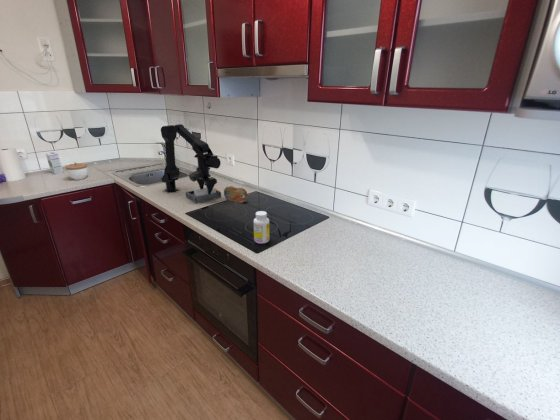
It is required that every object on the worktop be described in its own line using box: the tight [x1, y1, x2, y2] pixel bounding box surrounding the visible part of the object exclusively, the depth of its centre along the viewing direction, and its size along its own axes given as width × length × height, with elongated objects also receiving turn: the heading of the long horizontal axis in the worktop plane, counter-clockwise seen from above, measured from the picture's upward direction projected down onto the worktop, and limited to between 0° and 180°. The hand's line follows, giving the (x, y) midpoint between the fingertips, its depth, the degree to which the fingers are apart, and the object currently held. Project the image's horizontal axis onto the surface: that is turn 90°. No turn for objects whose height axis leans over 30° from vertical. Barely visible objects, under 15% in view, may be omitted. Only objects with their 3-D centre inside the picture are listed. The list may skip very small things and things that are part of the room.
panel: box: [194, 186, 217, 197], centre depth 173 cm, size 4×12×5 cm, turn 130°
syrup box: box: [45, 151, 64, 175], centre depth 215 cm, size 6×6×14 cm
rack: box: [185, 188, 222, 204], centre depth 175 cm, size 13×16×4 cm
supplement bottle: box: [253, 210, 270, 244], centre depth 126 cm, size 7×7×13 cm
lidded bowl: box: [64, 162, 89, 181], centre depth 205 cm, size 13×13×11 cm
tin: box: [223, 185, 249, 204], centre depth 170 cm, size 15×3×8 cm, turn 62°
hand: (205, 192), depth 173 cm, fingers open, 9 cm apart
